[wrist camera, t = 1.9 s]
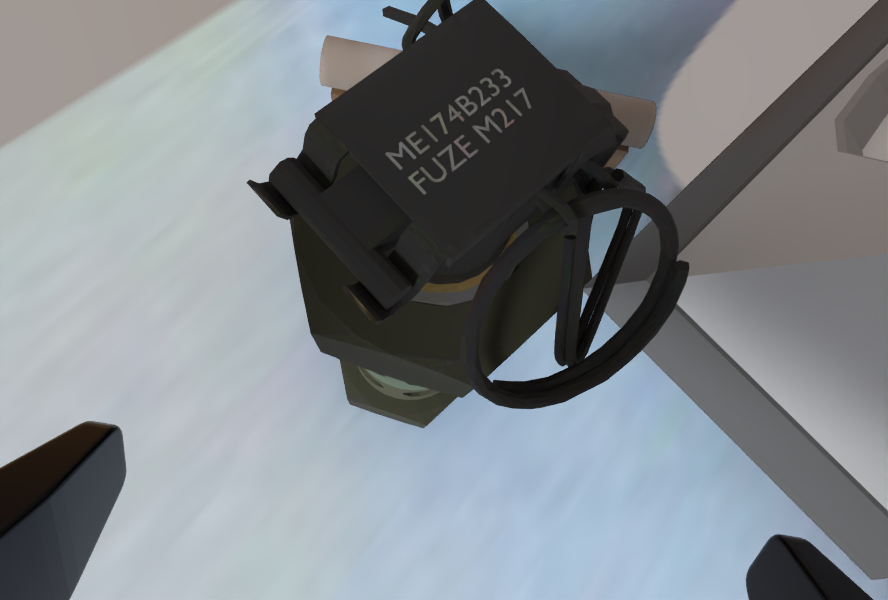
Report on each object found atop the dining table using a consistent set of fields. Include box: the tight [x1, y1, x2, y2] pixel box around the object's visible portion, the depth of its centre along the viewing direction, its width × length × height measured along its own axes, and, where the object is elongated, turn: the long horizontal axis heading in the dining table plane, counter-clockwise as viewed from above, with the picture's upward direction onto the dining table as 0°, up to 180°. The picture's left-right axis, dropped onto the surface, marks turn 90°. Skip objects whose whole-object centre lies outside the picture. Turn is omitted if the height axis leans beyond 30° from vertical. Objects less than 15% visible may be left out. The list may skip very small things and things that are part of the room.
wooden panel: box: [320, 36, 656, 196], centre depth 18 cm, size 1×8×7 cm, turn 81°
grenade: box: [247, 0, 690, 428], centre depth 13 cm, size 6×6×15 cm
